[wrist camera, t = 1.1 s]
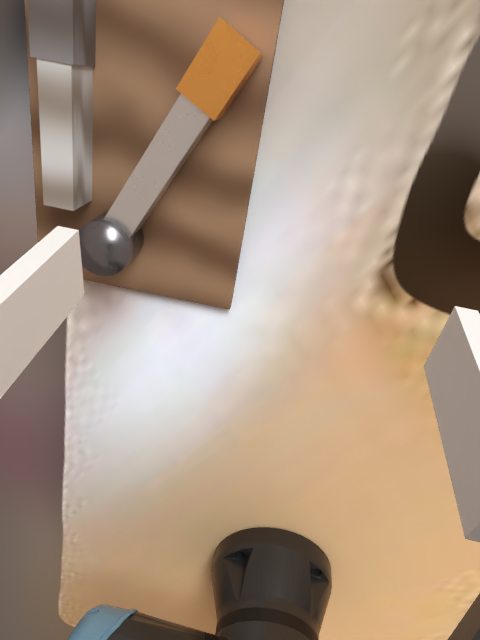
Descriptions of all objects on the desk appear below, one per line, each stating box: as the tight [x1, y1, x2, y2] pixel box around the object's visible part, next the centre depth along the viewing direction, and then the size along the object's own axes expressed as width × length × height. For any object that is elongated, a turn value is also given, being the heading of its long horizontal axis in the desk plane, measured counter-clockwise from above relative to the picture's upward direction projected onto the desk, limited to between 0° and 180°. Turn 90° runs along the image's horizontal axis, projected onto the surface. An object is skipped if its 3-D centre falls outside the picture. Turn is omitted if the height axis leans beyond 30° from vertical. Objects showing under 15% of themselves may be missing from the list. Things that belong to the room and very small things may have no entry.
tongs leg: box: [79, 17, 264, 277], centre depth 34 cm, size 20×4×4 cm, turn 142°
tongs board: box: [24, 0, 284, 309], centre depth 35 cm, size 24×18×4 cm
